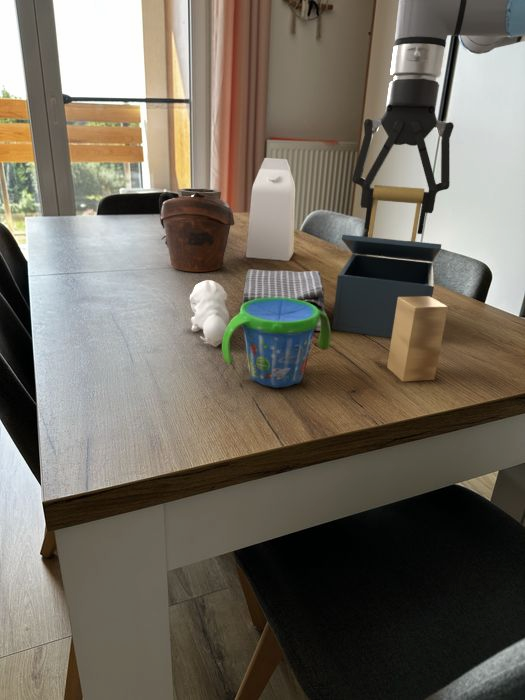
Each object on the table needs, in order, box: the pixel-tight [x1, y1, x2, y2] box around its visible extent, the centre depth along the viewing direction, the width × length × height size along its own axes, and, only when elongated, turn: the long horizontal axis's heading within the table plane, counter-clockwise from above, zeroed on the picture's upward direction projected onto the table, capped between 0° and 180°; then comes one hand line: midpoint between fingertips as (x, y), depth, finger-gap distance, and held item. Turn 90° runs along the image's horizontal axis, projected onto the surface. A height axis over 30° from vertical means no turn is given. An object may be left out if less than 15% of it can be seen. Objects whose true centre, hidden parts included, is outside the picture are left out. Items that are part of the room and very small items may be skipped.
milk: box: [245, 157, 296, 262], centre depth 143 cm, size 12×12×26 cm
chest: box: [331, 253, 435, 339], centre depth 96 cm, size 20×16×10 cm
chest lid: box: [341, 184, 442, 262], centre depth 93 cm, size 21×16×10 cm
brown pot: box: [159, 193, 235, 273], centre depth 127 cm, size 18×20×18 cm
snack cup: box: [221, 297, 332, 389], centre depth 70 cm, size 16×10×10 cm
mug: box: [158, 187, 222, 230], centre depth 162 cm, size 20×14×15 cm
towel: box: [241, 268, 328, 332], centre depth 96 cm, size 15×18×8 cm
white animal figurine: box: [189, 279, 230, 348], centre depth 83 cm, size 6×8×12 cm
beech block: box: [386, 296, 449, 383], centre depth 73 cm, size 5×5×11 cm
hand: (393, 230), depth 87 cm, fingers closed on chest lid, 8 cm apart
